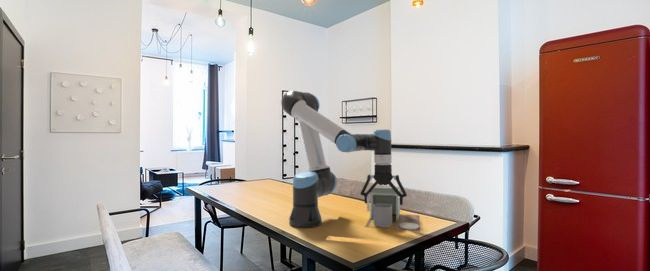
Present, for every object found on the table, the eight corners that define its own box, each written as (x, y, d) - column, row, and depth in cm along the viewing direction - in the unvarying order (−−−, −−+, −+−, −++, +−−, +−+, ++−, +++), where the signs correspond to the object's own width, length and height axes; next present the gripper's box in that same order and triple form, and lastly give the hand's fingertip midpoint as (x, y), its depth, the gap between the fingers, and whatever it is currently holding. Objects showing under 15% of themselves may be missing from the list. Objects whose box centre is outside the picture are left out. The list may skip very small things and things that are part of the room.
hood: (370, 218, 152) (370, 187, 151) (373, 212, 164) (373, 183, 163) (398, 220, 148) (398, 188, 148) (399, 214, 160) (399, 184, 160)
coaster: (398, 228, 137) (398, 227, 137) (399, 222, 145) (399, 221, 145) (419, 230, 135) (419, 229, 135) (419, 224, 143) (419, 223, 143)
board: (365, 230, 139) (365, 226, 139) (372, 215, 164) (372, 212, 164) (420, 234, 133) (420, 231, 133) (419, 218, 158) (419, 215, 158)
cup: (392, 231, 138) (392, 208, 138) (372, 229, 140) (372, 207, 140) (392, 225, 146) (392, 203, 146) (373, 224, 148) (373, 202, 148)
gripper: (353, 164, 142) (354, 212, 142) (411, 165, 136) (412, 215, 136) (356, 162, 150) (357, 208, 150) (411, 163, 143) (412, 210, 143)
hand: (383, 211), depth 143 cm, fingers open, 13 cm apart
